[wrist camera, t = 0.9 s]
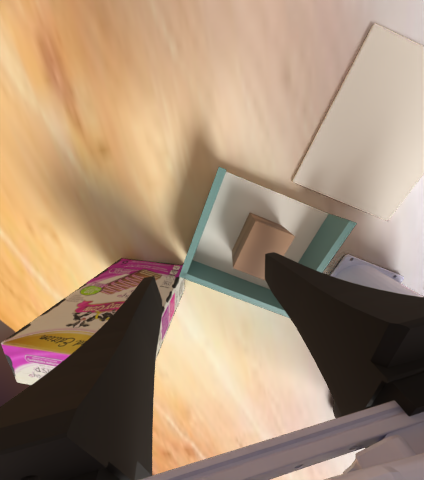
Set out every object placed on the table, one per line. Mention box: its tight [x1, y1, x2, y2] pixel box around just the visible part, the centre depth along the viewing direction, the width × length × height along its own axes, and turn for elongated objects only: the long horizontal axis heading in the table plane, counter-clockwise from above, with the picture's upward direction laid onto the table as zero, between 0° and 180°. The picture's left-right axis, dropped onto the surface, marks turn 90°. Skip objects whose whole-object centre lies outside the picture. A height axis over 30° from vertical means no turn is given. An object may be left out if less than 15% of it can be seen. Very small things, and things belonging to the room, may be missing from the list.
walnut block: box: [232, 213, 295, 281], centre depth 21 cm, size 4×6×5 cm
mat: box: [292, 23, 424, 221], centre depth 20 cm, size 14×16×1 cm
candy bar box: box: [1, 258, 185, 385], centre depth 21 cm, size 11×5×16 cm, turn 86°
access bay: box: [179, 167, 357, 318], centre depth 23 cm, size 16×14×6 cm
